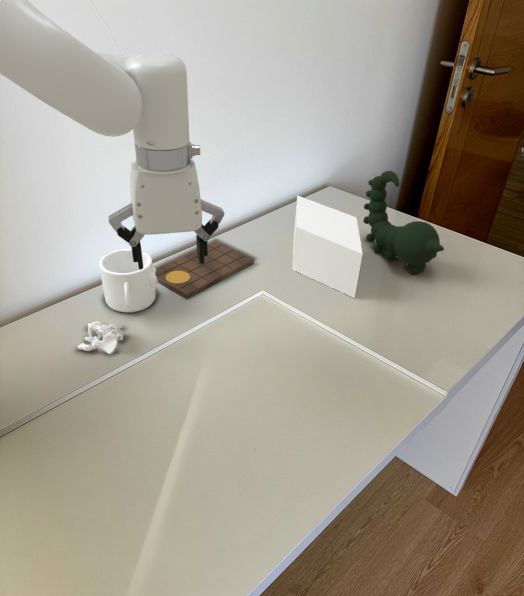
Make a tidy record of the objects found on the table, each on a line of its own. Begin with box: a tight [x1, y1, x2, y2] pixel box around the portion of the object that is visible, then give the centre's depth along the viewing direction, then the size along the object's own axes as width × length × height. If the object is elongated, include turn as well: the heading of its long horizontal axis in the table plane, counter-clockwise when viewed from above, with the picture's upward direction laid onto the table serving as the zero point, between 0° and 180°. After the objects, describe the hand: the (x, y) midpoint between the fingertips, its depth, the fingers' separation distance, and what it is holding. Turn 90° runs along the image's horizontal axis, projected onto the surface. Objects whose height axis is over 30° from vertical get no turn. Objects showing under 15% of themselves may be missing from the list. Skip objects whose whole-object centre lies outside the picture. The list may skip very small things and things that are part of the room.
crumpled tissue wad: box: [77, 320, 124, 355], centre depth 92 cm, size 8×4×7 cm
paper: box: [291, 195, 363, 299], centre depth 115 cm, size 14×29×10 cm, turn 23°
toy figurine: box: [362, 170, 445, 275], centre depth 116 cm, size 9×19×25 cm
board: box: [155, 240, 255, 300], centre depth 114 cm, size 20×12×1 cm, turn 139°
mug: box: [98, 248, 158, 313], centre depth 100 cm, size 12×10×9 cm
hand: (170, 262), depth 85 cm, fingers open, 9 cm apart
